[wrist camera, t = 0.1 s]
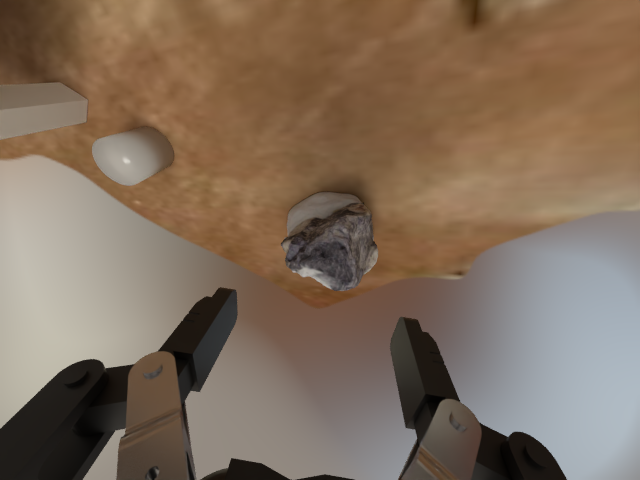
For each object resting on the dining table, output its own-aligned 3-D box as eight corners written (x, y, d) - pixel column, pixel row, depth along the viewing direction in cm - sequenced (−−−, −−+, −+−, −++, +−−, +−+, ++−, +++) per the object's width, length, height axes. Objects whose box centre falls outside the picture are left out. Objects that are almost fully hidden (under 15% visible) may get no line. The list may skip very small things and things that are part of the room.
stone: (297, 249, 40) (239, 276, 26) (301, 189, 38) (240, 184, 24) (382, 264, 36) (363, 307, 22) (391, 196, 34) (377, 196, 20)
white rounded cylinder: (137, 117, 29) (94, 126, 24) (178, 143, 30) (145, 158, 26) (130, 152, 32) (90, 167, 27) (168, 175, 33) (137, 193, 28)
